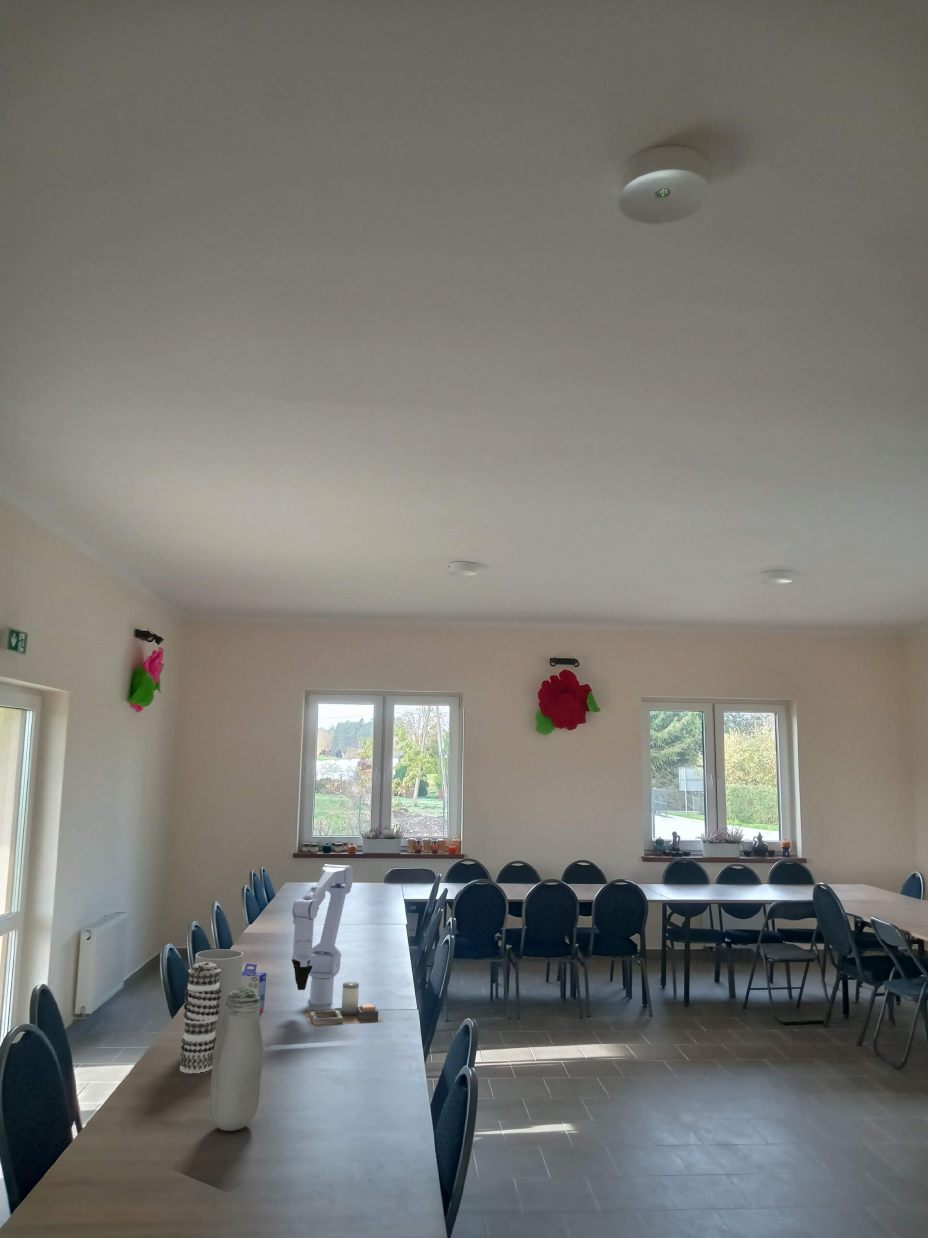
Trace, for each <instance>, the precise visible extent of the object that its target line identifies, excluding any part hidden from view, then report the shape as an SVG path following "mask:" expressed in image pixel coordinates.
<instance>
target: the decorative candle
mask: <svg viewBox="0 0 928 1238" xmlns="http://www.w3.org/2000/svg"><path fill="white" fill-rule="evenodd" d="M219 971H221V969H220V968H218V966H217V964H216V963H213V962H199V963H196V964H195V963H194V964H192V967H191V968H190V969H188V972H189V976H188V982H187V987H185V990H183V993H184V995H185V997H184V1005H183V1009H184V1013H183V1021H184V1023H185V1024H184V1030H183V1038H182V1039H181V1043H182V1045H181V1046H180V1048H181V1052H180V1060H179V1071H180V1072H182V1073H184V1074H192V1073H196V1074H201V1073H200V1072H204V1073H206V1072H205V1071H208V1070H210V1069H212V1062H213V1051H214V1045H215V1043H214V1042H215V1041H216V1037H215V1032H216V1029H215V1023H216V1020H217V1019H218V1015H217V1014H218V1013H219V1011H218V1010H216V1009H217V1008H218V1007H219V1006H220V1005H219V1004H218V1003H217V1000H219V999H220V998H221V997H220V996H219V995H218V994H219V993H221V990H220V989H218V988H219ZM210 1071H211V1070H210ZM208 1072H209V1071H208ZM192 1075H193V1074H192Z"/></svg>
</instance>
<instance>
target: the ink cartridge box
mask: <svg viewBox="0 0 928 1238" xmlns="http://www.w3.org/2000/svg"><path fill="white" fill-rule="evenodd" d="M257 966H258V964H254V963H246V964H245V966H244V970H242V978H241V988H244V987H250V988H252V989H254V990H256V991H257V993H258V995H259V998H260V1010H259V1014H260V1013H263V1012H264V1011H265V1000H266V984H267V972H262V971H261V972H260V971H256V969H257ZM248 967H252V968H248Z"/></svg>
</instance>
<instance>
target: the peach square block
mask: <svg viewBox="0 0 928 1238" xmlns="http://www.w3.org/2000/svg"><path fill="white" fill-rule="evenodd" d="M374 1006H375V1005H374V1003H366V1004H365V1003H364V1004H363V1003H362V1004H360V1007H361V1011H375V1007H376V1006H375V1007H374Z"/></svg>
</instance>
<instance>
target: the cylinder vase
mask: <svg viewBox="0 0 928 1238" xmlns="http://www.w3.org/2000/svg"><path fill="white" fill-rule="evenodd" d="M194 959H195V960H194V964H196V963H199V962H213V963H216V964H217V966H218V968H220V969H221V971H219V988H218V989H220V990H221V993H219V994H218V995H219V996H220V997H221V998H220V999H219V1000H217V1003H218V1004H219V1005H220V1006H219V1007H218V1008H217V1009H216V1010H218V1011H219V1013H218V1014H217V1015H218V1019H217V1020H216V1023H215V1029H216V1032H215V1037H216V1038H217V1035H218V1032H219V1030H220V1027H221V1023H222V1019H223V1015H224V1012H225V1001H226V998H227V996H228V995H229V994H230V993H231V992H232V991H233V990H235V989H238V988H241V978H242V971H243V964H244V963H243V962H244V952H242V951H239V950H236V949H228V948H227V949H226V948H225V949H223V948H220V949H219V948H218V949H209V950H208V949H207V950H202V951H198V952H197V953H195V958H194ZM215 1042H216V1041H215ZM215 1042H214V1043H215Z"/></svg>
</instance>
